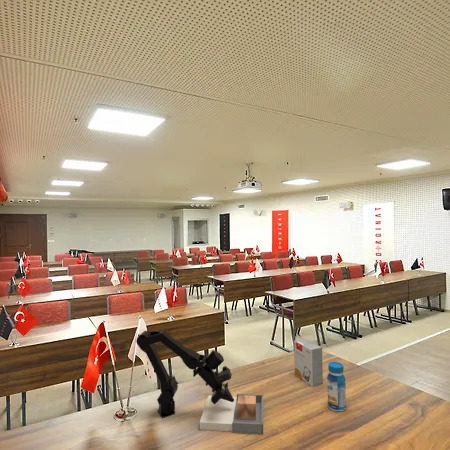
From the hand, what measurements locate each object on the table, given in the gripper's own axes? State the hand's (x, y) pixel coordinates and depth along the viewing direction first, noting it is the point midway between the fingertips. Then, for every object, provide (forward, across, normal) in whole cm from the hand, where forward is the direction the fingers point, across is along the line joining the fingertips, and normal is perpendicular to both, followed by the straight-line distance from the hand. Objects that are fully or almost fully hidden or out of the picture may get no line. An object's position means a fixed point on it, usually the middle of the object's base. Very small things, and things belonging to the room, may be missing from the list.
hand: (233, 401), depth 146 cm
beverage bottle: (+38, +11, -29) cm, 49 cm away
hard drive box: (+32, +38, -22) cm, 54 cm away
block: (+3, 0, 0) cm, 3 cm away
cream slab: (0, 0, +9) cm, 9 cm away
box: (+9, 0, 0) cm, 9 cm away
